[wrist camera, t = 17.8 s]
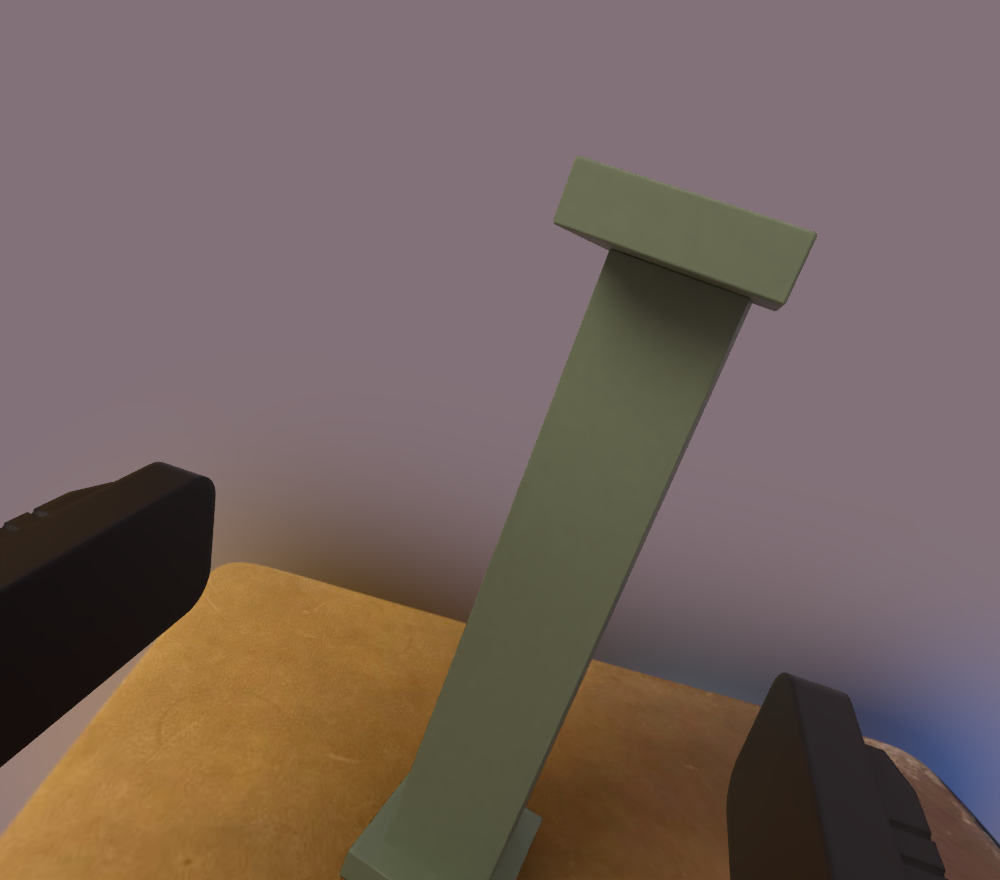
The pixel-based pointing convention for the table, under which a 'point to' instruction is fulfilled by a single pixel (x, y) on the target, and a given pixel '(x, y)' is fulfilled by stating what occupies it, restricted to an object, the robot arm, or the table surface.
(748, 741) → the robot arm
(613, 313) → the stand
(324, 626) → the table surface
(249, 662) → the table surface
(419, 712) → the table surface
